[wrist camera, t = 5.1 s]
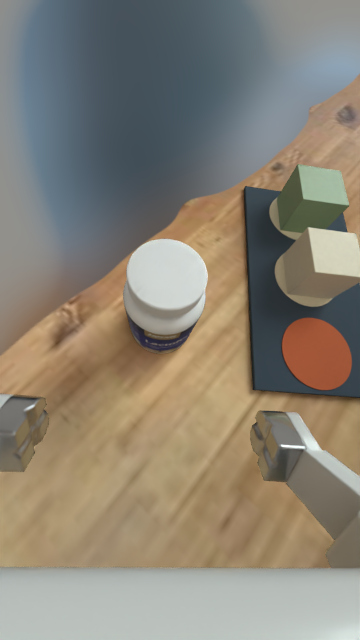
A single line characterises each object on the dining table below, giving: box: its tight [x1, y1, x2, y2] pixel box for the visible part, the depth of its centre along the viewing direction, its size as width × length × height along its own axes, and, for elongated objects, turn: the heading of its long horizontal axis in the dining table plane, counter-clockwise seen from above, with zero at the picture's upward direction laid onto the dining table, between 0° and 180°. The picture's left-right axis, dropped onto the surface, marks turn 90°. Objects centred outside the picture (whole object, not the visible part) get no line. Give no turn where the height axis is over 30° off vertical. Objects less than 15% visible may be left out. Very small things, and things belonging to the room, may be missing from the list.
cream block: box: [283, 227, 360, 299], centre depth 23 cm, size 5×5×4 cm
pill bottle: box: [123, 239, 207, 353], centre depth 18 cm, size 6×6×10 cm
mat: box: [244, 186, 360, 398], centre depth 26 cm, size 25×13×1 cm, turn 176°
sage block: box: [277, 164, 349, 233], centre depth 26 cm, size 5×5×4 cm
